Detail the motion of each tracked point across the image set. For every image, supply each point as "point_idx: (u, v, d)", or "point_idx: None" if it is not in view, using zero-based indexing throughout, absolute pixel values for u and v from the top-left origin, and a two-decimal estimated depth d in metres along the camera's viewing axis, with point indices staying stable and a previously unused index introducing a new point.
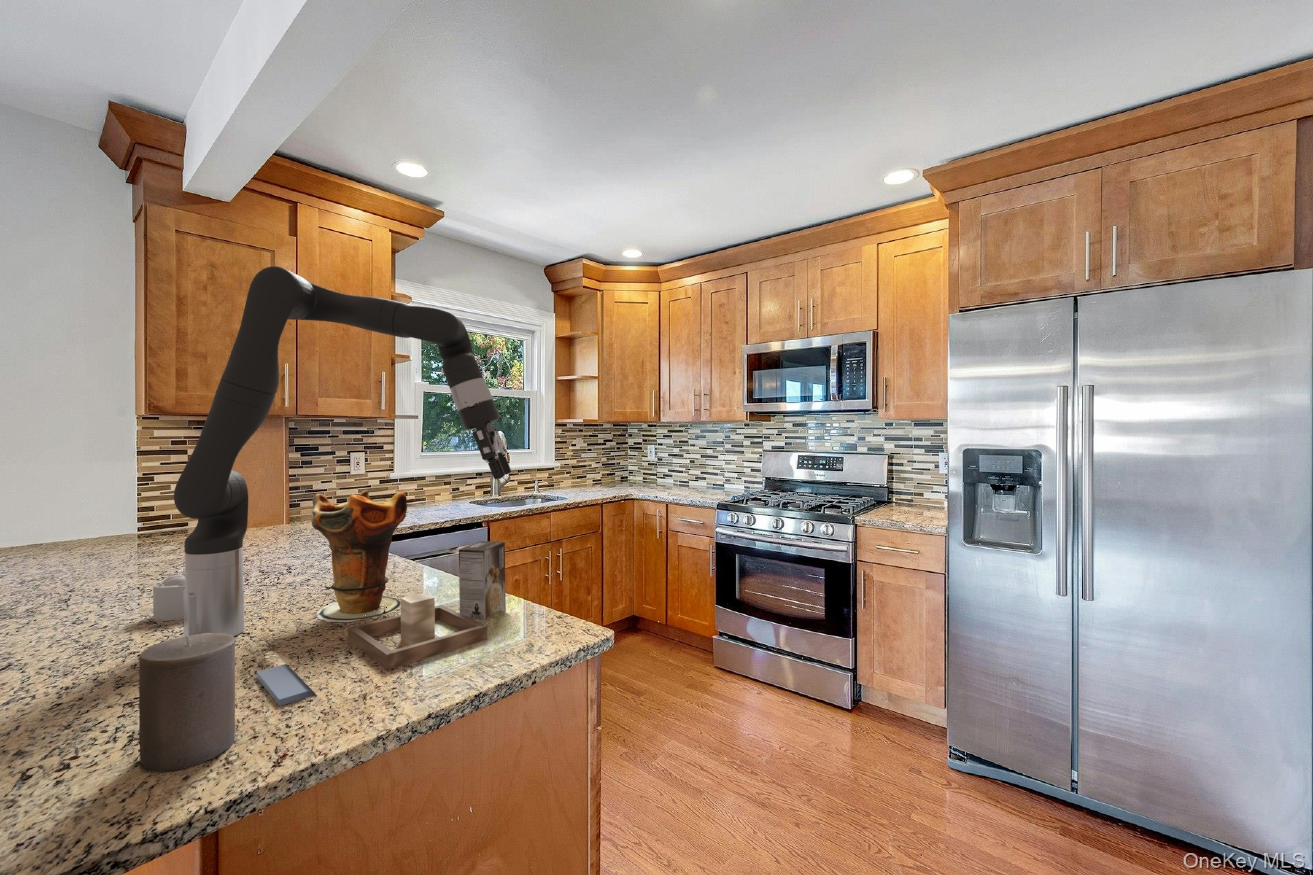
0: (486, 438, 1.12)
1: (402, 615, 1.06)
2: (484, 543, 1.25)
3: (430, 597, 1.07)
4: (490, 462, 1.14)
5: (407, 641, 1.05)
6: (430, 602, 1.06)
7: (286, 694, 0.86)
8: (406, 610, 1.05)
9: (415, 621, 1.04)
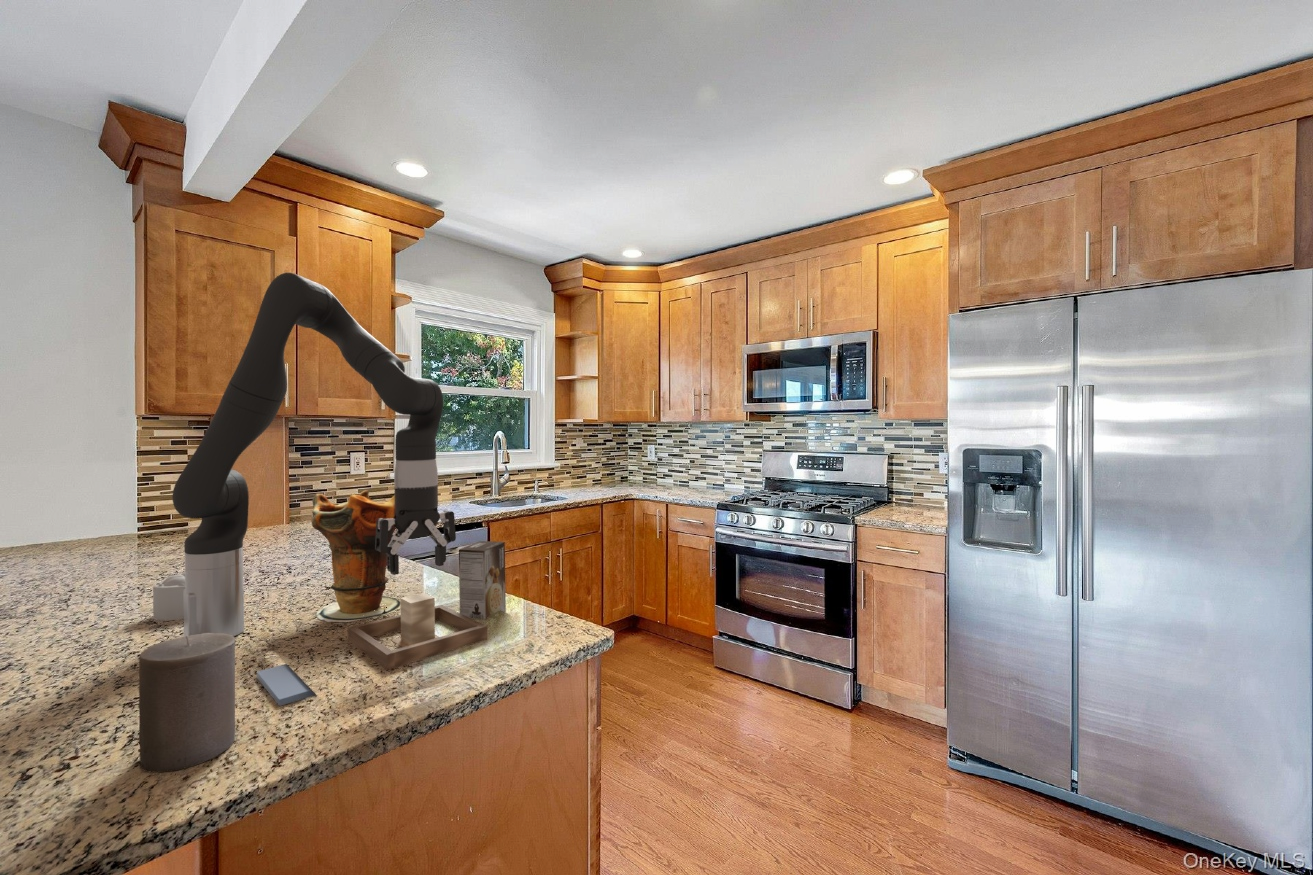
0: (380, 531, 1.01)
1: (402, 615, 1.06)
2: (484, 543, 1.25)
3: (430, 597, 1.07)
4: (387, 554, 1.03)
5: (407, 641, 1.05)
6: (430, 602, 1.06)
7: (286, 694, 0.86)
8: (406, 610, 1.05)
9: (415, 621, 1.04)
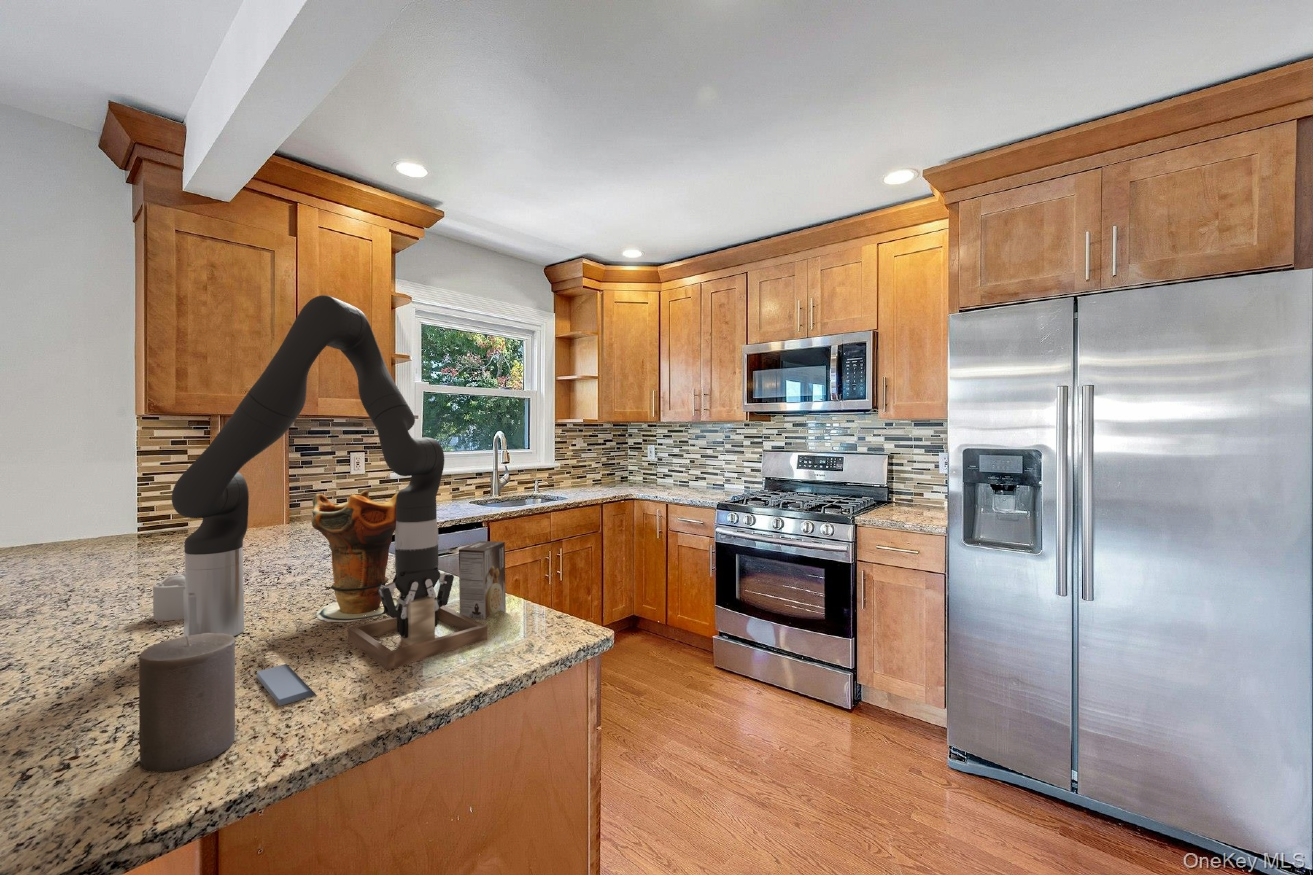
0: (385, 599, 1.02)
1: None
2: (484, 543, 1.25)
3: None
4: (397, 618, 1.05)
5: (407, 641, 1.05)
6: (430, 602, 1.06)
7: (286, 694, 0.86)
8: None
9: (415, 621, 1.04)
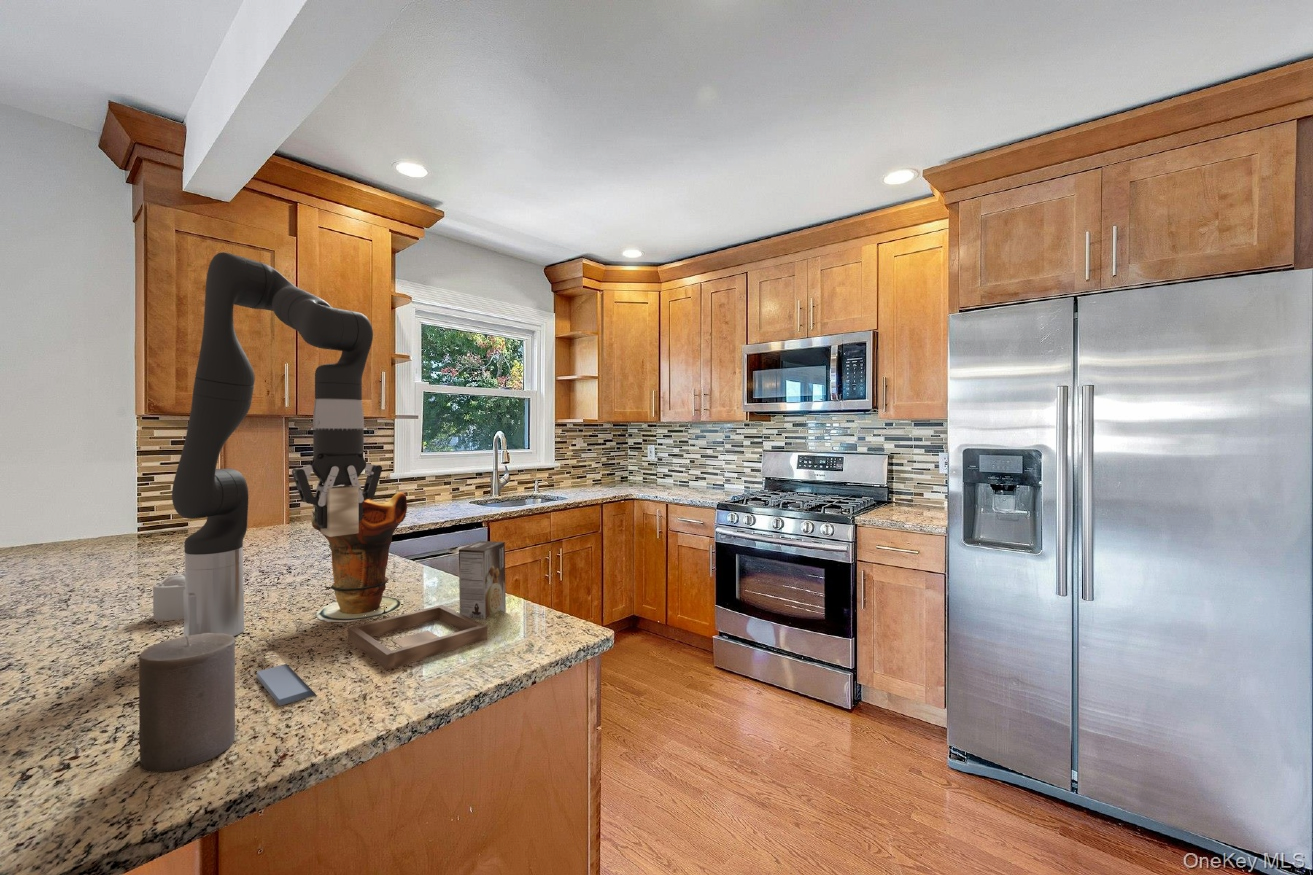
0: (299, 482, 0.92)
1: None
2: (484, 543, 1.25)
3: None
4: (314, 506, 0.95)
5: (326, 532, 0.95)
6: (353, 491, 0.97)
7: (286, 694, 0.86)
8: None
9: (335, 509, 0.95)
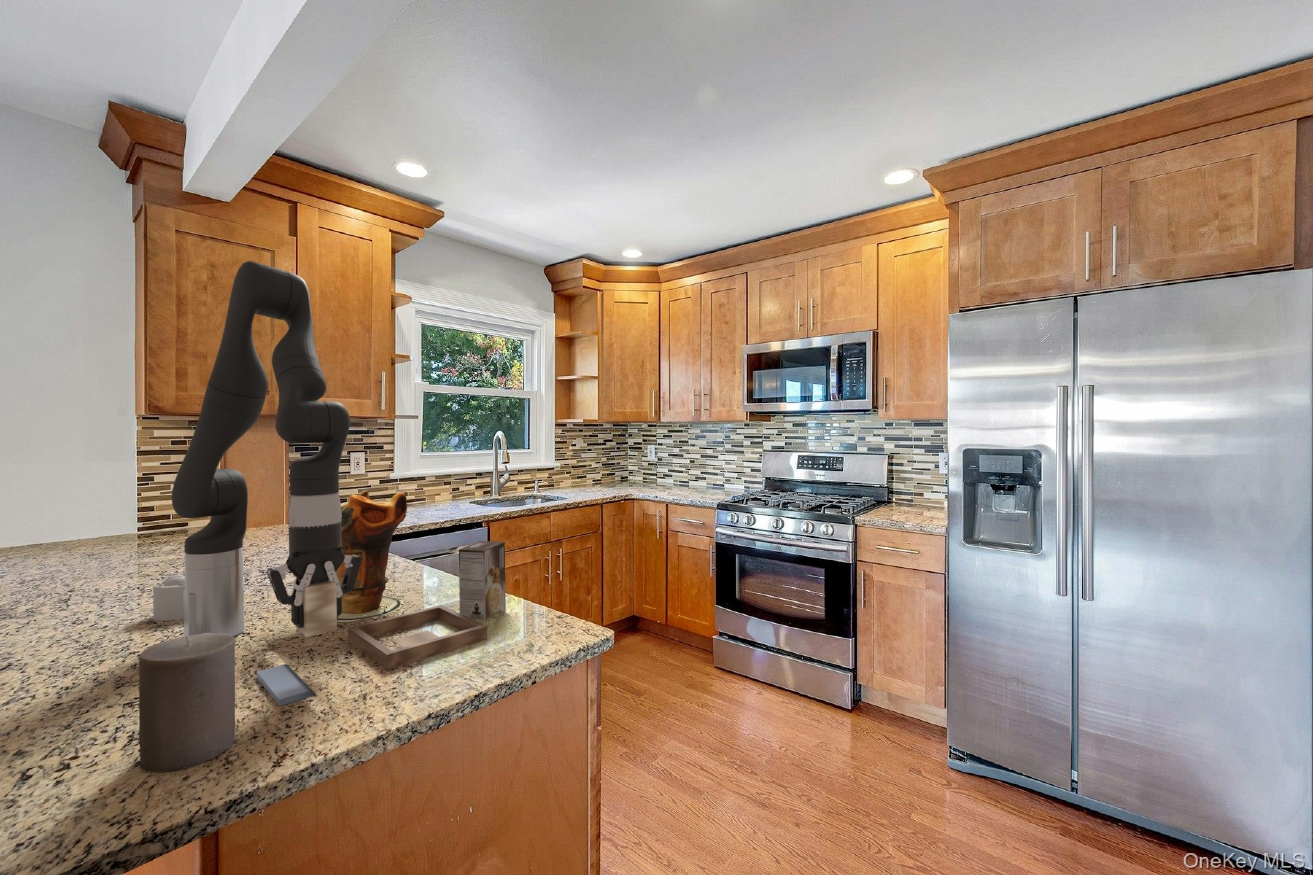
0: (273, 583, 0.89)
1: None
2: (484, 543, 1.25)
3: (331, 582, 0.95)
4: (291, 605, 0.92)
5: (303, 631, 0.93)
6: (331, 587, 0.94)
7: (286, 694, 0.86)
8: None
9: (311, 608, 0.92)
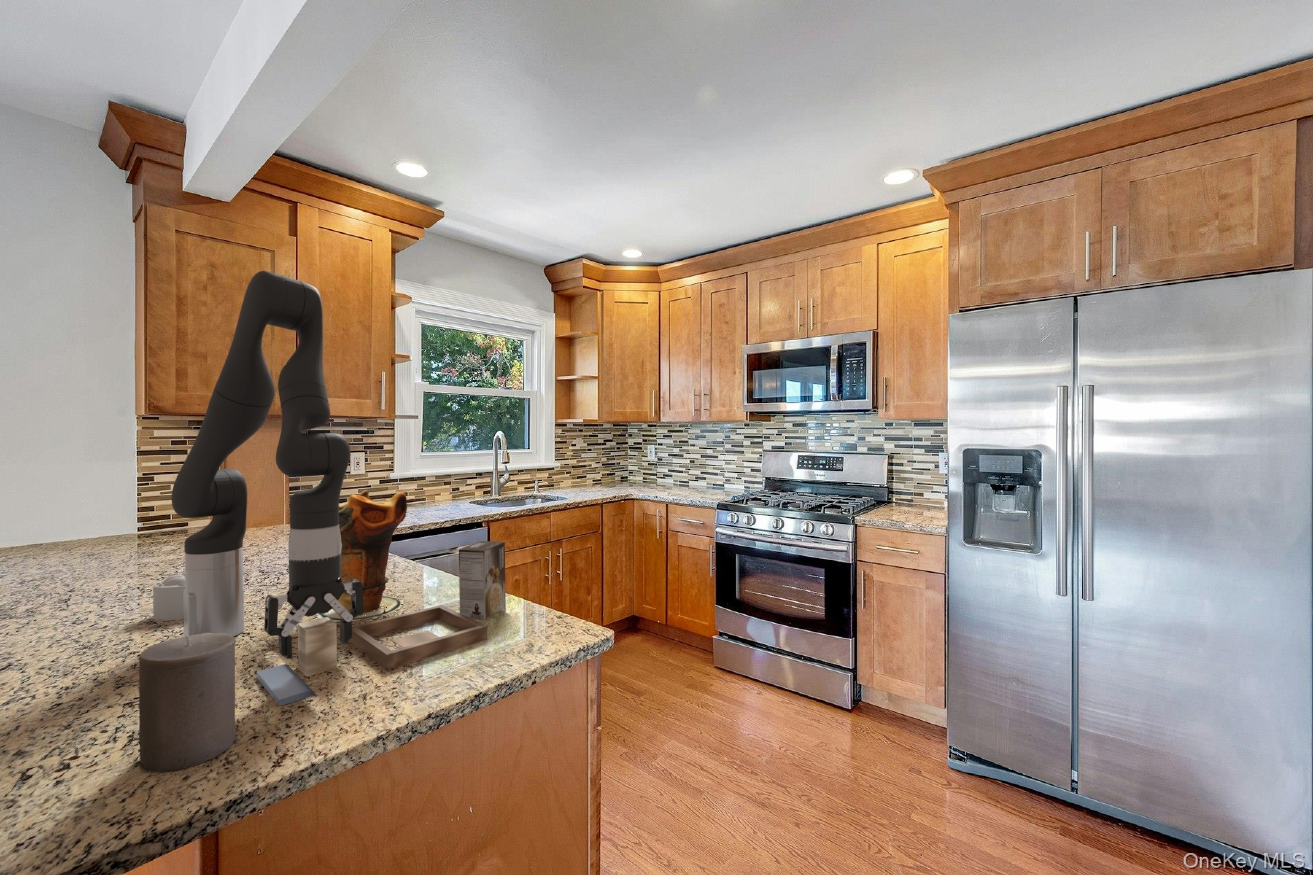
0: (268, 611, 0.89)
1: (299, 643, 0.94)
2: (484, 543, 1.25)
3: (331, 622, 0.95)
4: None
5: (303, 673, 0.93)
6: (331, 628, 0.94)
7: (286, 694, 0.86)
8: (302, 638, 0.93)
9: (311, 650, 0.92)
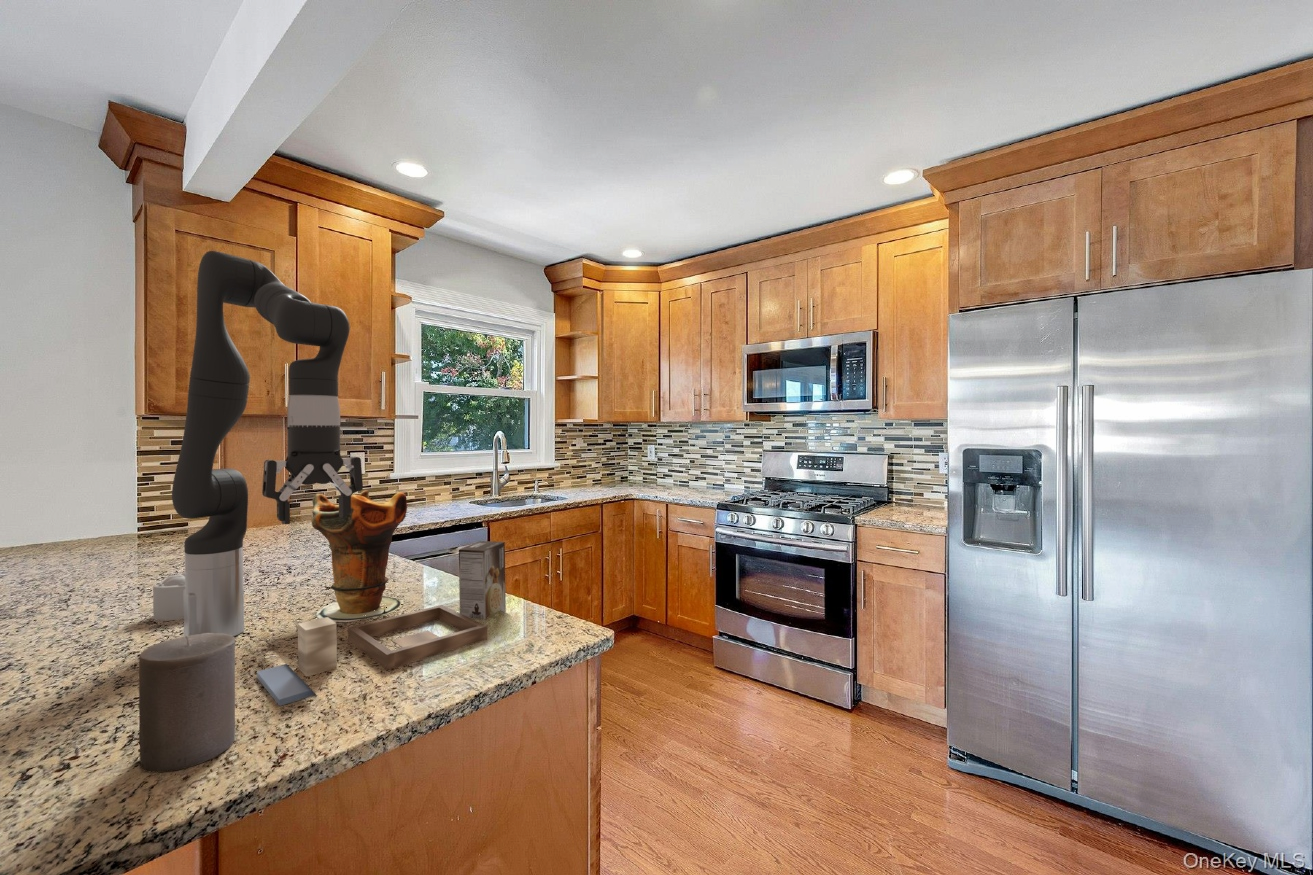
0: (266, 473, 0.89)
1: (299, 643, 0.94)
2: (484, 543, 1.25)
3: (331, 622, 0.95)
4: None
5: (303, 673, 0.93)
6: (331, 628, 0.94)
7: (286, 694, 0.86)
8: (302, 638, 0.93)
9: (311, 650, 0.92)
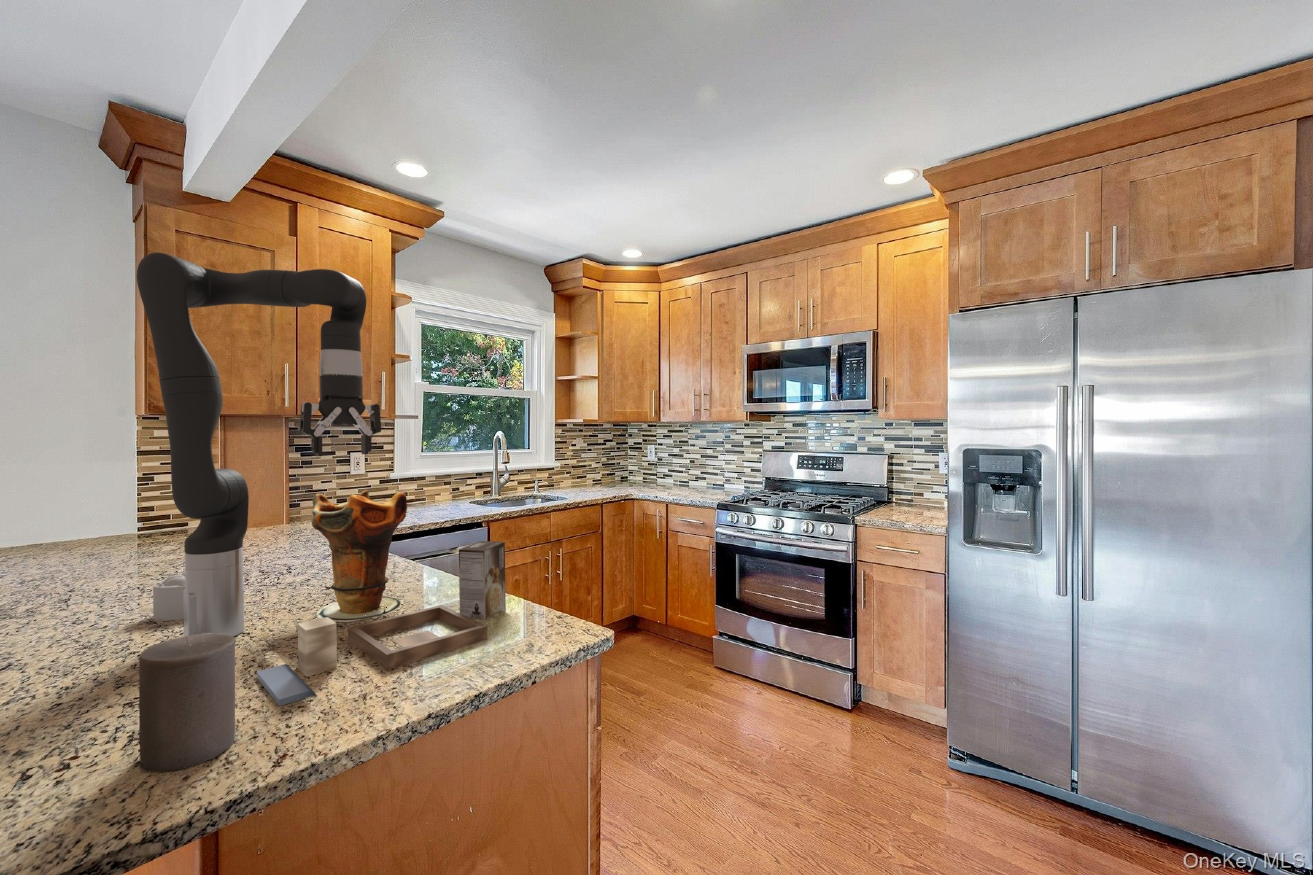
0: (304, 413, 1.08)
1: (299, 643, 0.94)
2: (484, 543, 1.25)
3: (331, 622, 0.95)
4: (311, 437, 1.10)
5: (303, 673, 0.93)
6: (331, 628, 0.94)
7: (286, 694, 0.86)
8: (302, 638, 0.93)
9: (311, 650, 0.92)
